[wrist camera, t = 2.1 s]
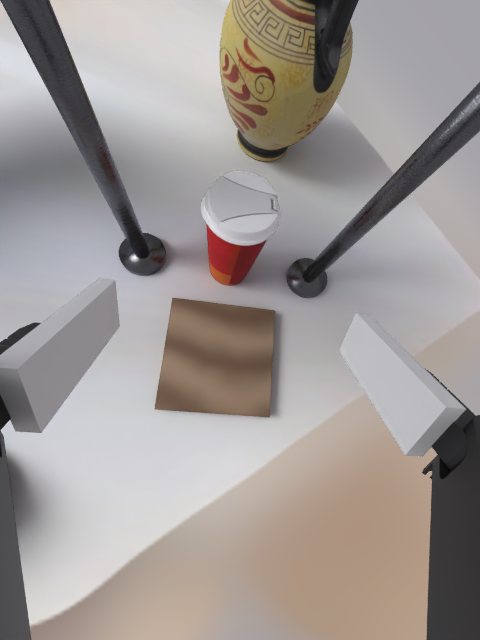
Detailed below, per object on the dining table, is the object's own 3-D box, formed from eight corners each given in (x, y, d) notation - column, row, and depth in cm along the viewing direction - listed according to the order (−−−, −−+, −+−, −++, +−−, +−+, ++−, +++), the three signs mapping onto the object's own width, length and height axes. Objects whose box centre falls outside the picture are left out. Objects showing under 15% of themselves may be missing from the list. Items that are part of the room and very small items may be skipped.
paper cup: (253, 246, 37) (282, 171, 24) (254, 294, 36) (286, 241, 22) (202, 242, 36) (202, 160, 23) (200, 291, 34) (198, 233, 21)
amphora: (328, 160, 44) (567, -257, 15) (253, 197, 40) (391, -291, 11) (271, 91, 46) (387, -391, 17) (194, 119, 42) (179, -465, 13)
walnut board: (173, 300, 33) (172, 297, 32) (272, 312, 35) (274, 310, 34) (156, 408, 30) (154, 409, 29) (267, 415, 32) (269, 417, 30)
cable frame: (117, 272, 33) (-1217, -1441, 2) (125, 233, 35) (-549, -1076, 4) (324, 300, 37) (993, -145, 6) (323, 264, 38) (849, -240, 7)
